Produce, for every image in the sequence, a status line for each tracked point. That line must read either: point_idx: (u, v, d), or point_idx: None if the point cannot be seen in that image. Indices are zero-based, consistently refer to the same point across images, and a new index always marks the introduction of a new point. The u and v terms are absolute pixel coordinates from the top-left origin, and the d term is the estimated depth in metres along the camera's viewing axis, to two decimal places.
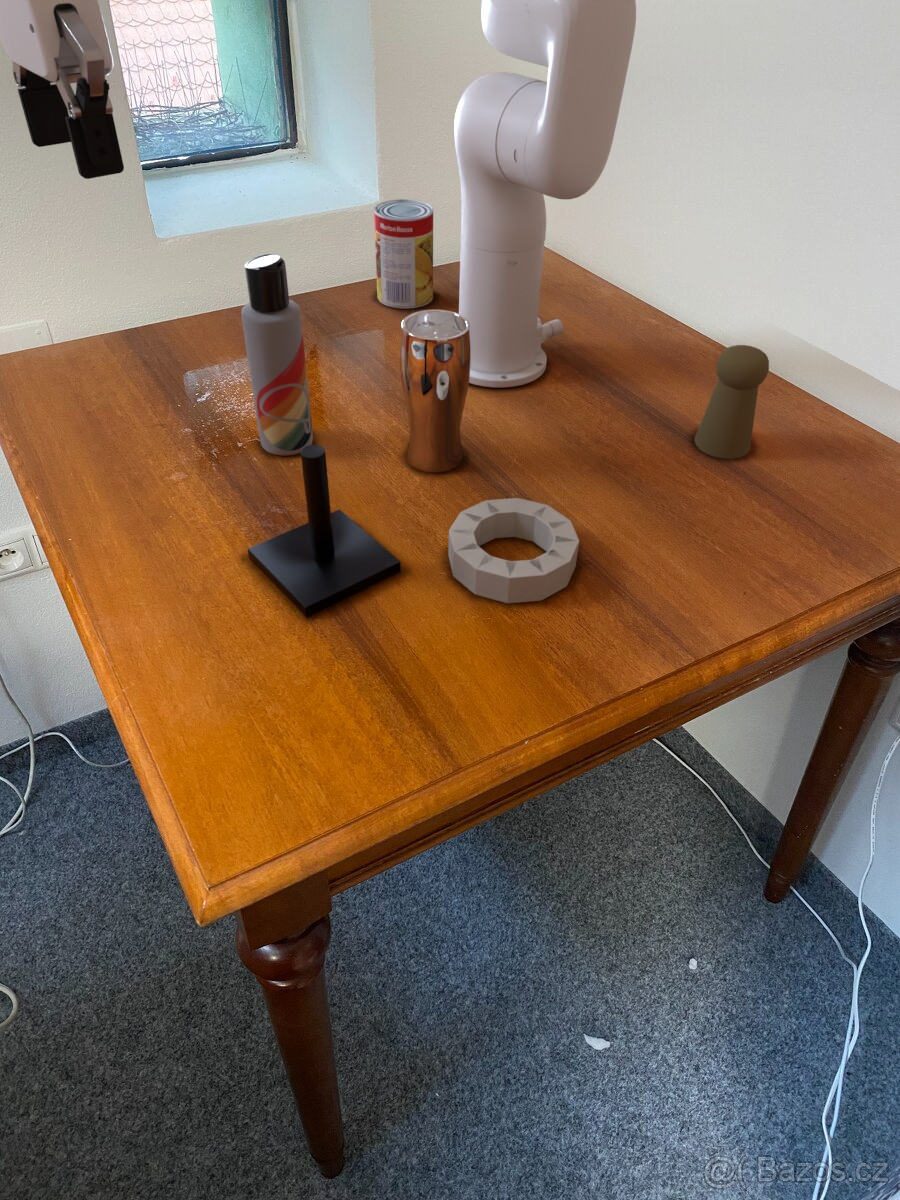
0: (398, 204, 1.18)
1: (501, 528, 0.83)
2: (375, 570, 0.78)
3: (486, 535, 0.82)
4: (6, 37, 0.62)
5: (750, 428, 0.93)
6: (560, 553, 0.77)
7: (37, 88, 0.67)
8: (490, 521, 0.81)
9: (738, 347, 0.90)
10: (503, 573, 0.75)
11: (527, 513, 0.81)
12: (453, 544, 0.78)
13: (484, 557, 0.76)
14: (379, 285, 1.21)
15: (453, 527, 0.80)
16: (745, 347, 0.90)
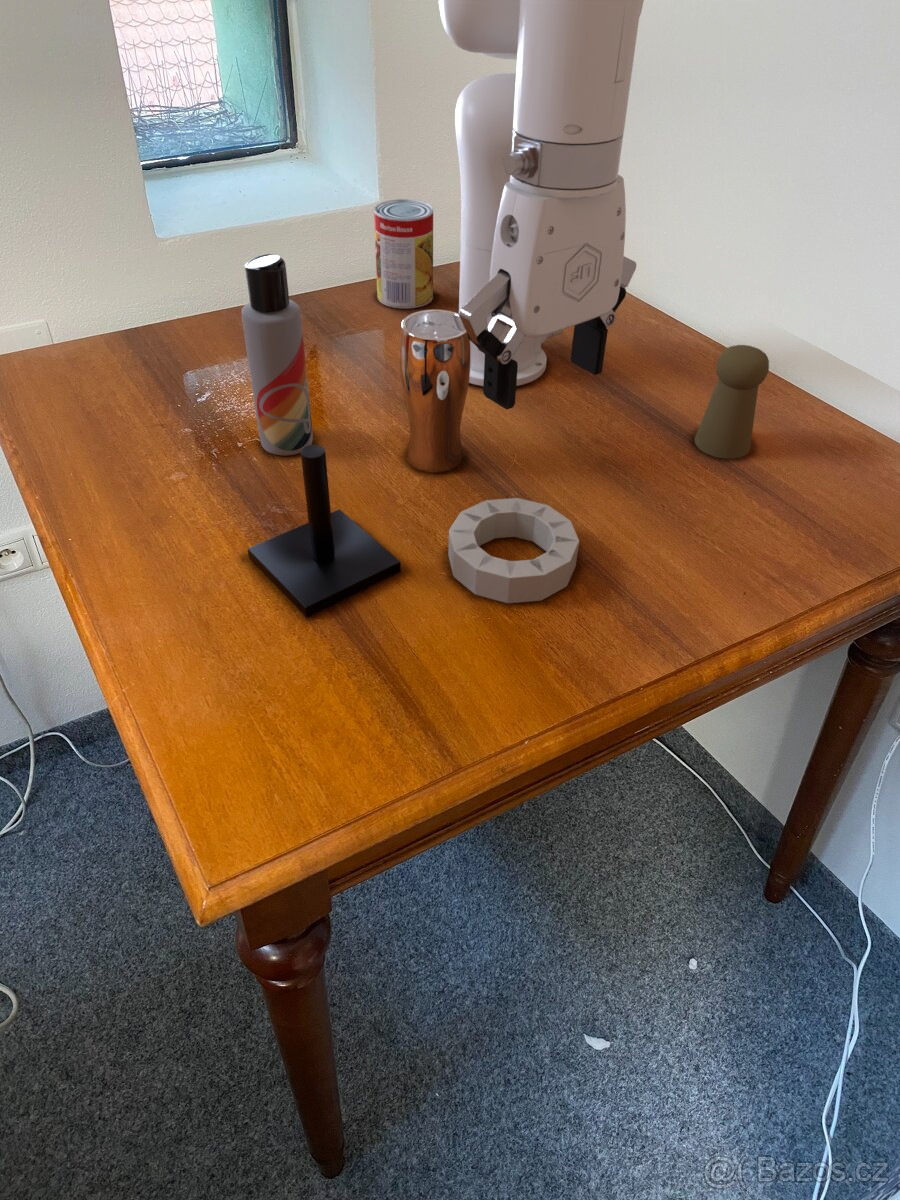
0: (398, 204, 1.18)
1: (501, 528, 0.83)
2: (375, 570, 0.78)
3: (486, 535, 0.82)
4: None
5: (750, 428, 0.93)
6: (560, 553, 0.77)
7: (587, 322, 0.72)
8: (490, 521, 0.81)
9: (738, 347, 0.90)
10: (503, 573, 0.75)
11: (527, 513, 0.81)
12: (453, 544, 0.78)
13: (484, 557, 0.76)
14: (379, 285, 1.21)
15: (453, 527, 0.80)
16: (745, 347, 0.90)
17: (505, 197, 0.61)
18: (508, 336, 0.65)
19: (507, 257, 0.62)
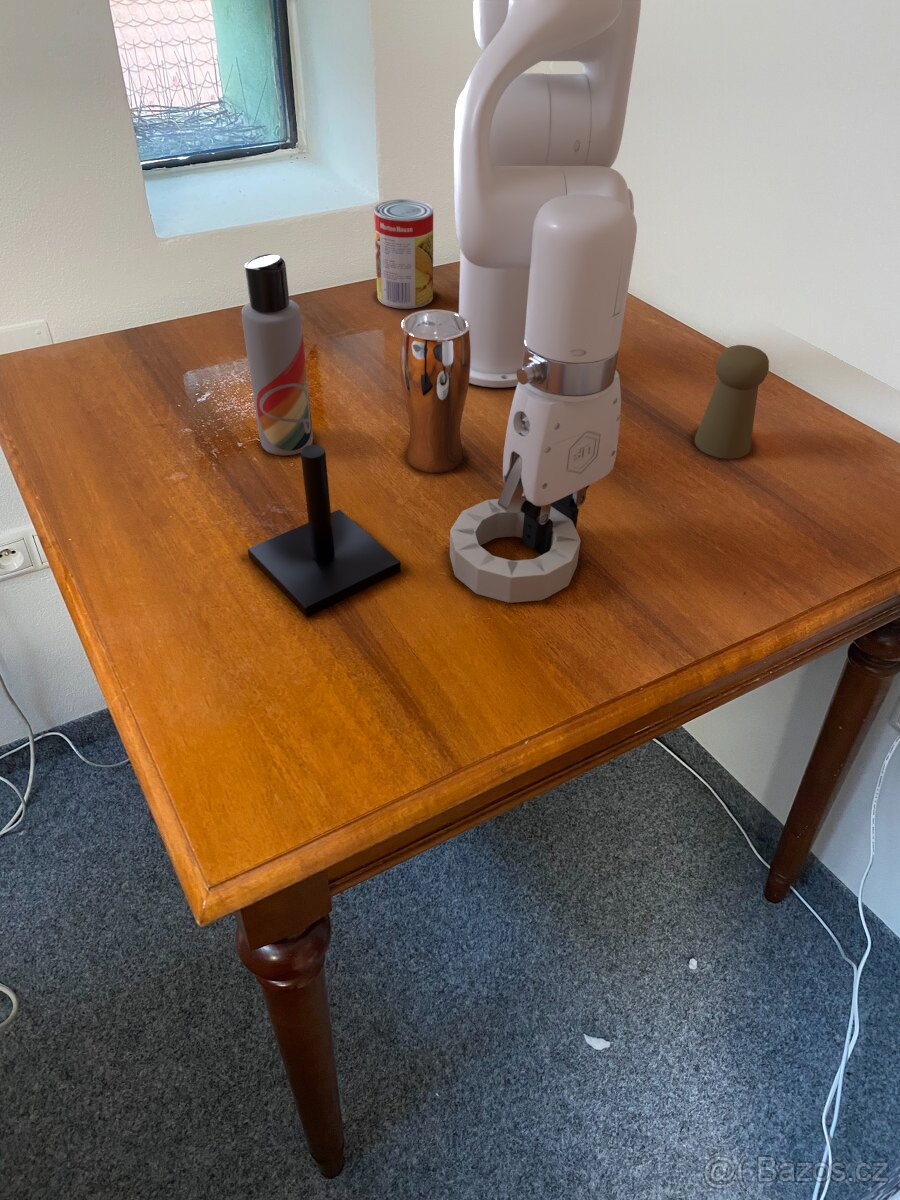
0: (398, 204, 1.18)
1: (503, 528, 0.83)
2: (375, 570, 0.78)
3: (488, 535, 0.82)
4: None
5: (750, 428, 0.93)
6: (561, 552, 0.77)
7: (560, 501, 0.81)
8: (491, 521, 0.81)
9: (738, 347, 0.90)
10: (505, 572, 0.75)
11: None
12: (454, 544, 0.78)
13: (486, 557, 0.77)
14: (379, 285, 1.21)
15: (454, 527, 0.80)
16: (745, 347, 0.90)
17: (518, 396, 0.71)
18: (538, 507, 0.77)
19: (519, 444, 0.72)
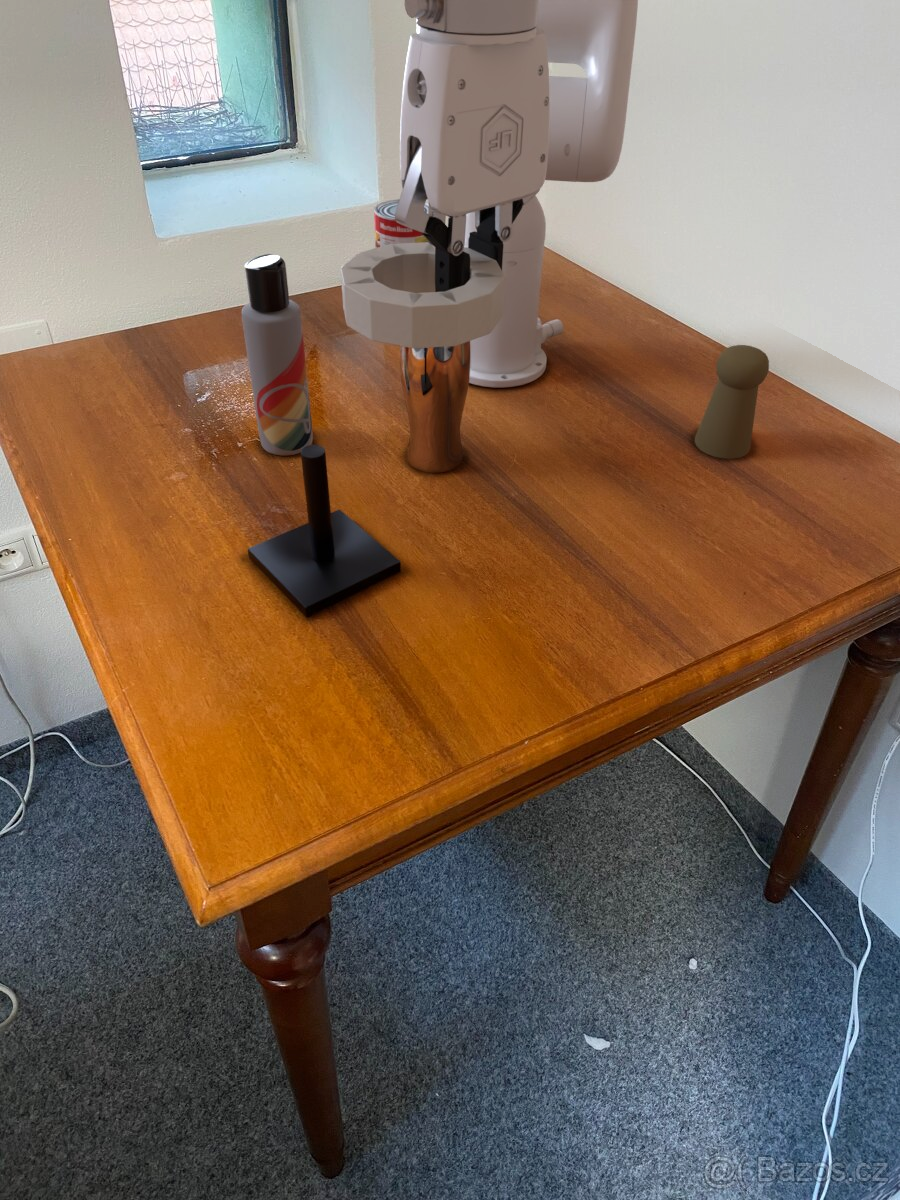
0: None
1: (411, 278, 0.66)
2: (375, 570, 0.78)
3: (392, 285, 0.66)
4: None
5: (750, 428, 0.93)
6: (480, 286, 0.61)
7: (481, 238, 0.65)
8: (395, 265, 0.65)
9: (738, 347, 0.90)
10: (405, 302, 0.58)
11: None
12: (344, 279, 0.61)
13: (382, 289, 0.60)
14: None
15: (346, 265, 0.63)
16: (745, 347, 0.90)
17: (411, 49, 0.54)
18: (449, 228, 0.61)
19: (416, 120, 0.55)
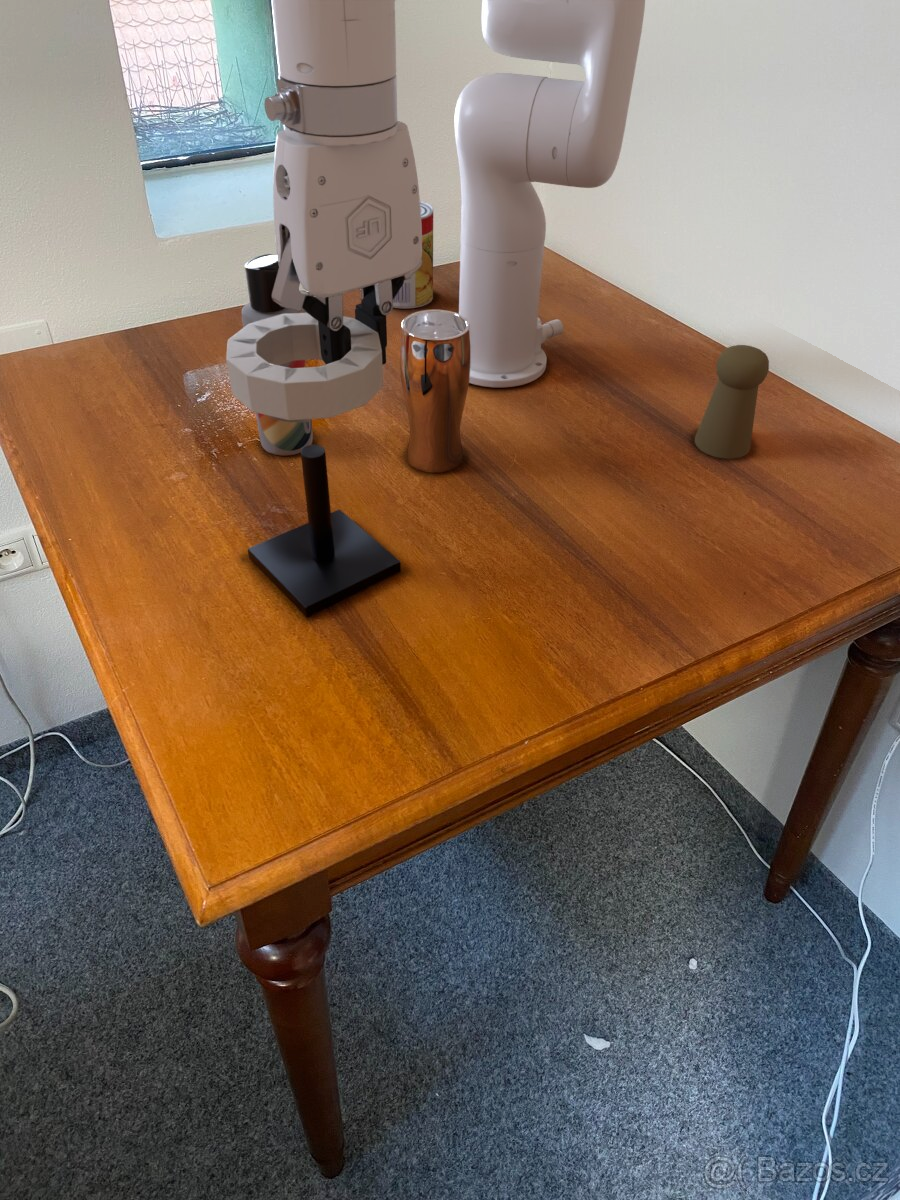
0: None
1: (301, 347, 0.69)
2: (375, 570, 0.78)
3: (282, 354, 0.69)
4: None
5: (750, 428, 0.93)
6: (354, 361, 0.64)
7: (365, 310, 0.68)
8: (284, 335, 0.68)
9: (738, 347, 0.90)
10: (278, 378, 0.62)
11: None
12: (227, 352, 0.65)
13: (260, 364, 0.63)
14: None
15: (233, 337, 0.66)
16: (745, 347, 0.90)
17: (276, 146, 0.57)
18: (326, 306, 0.64)
19: (284, 211, 0.59)
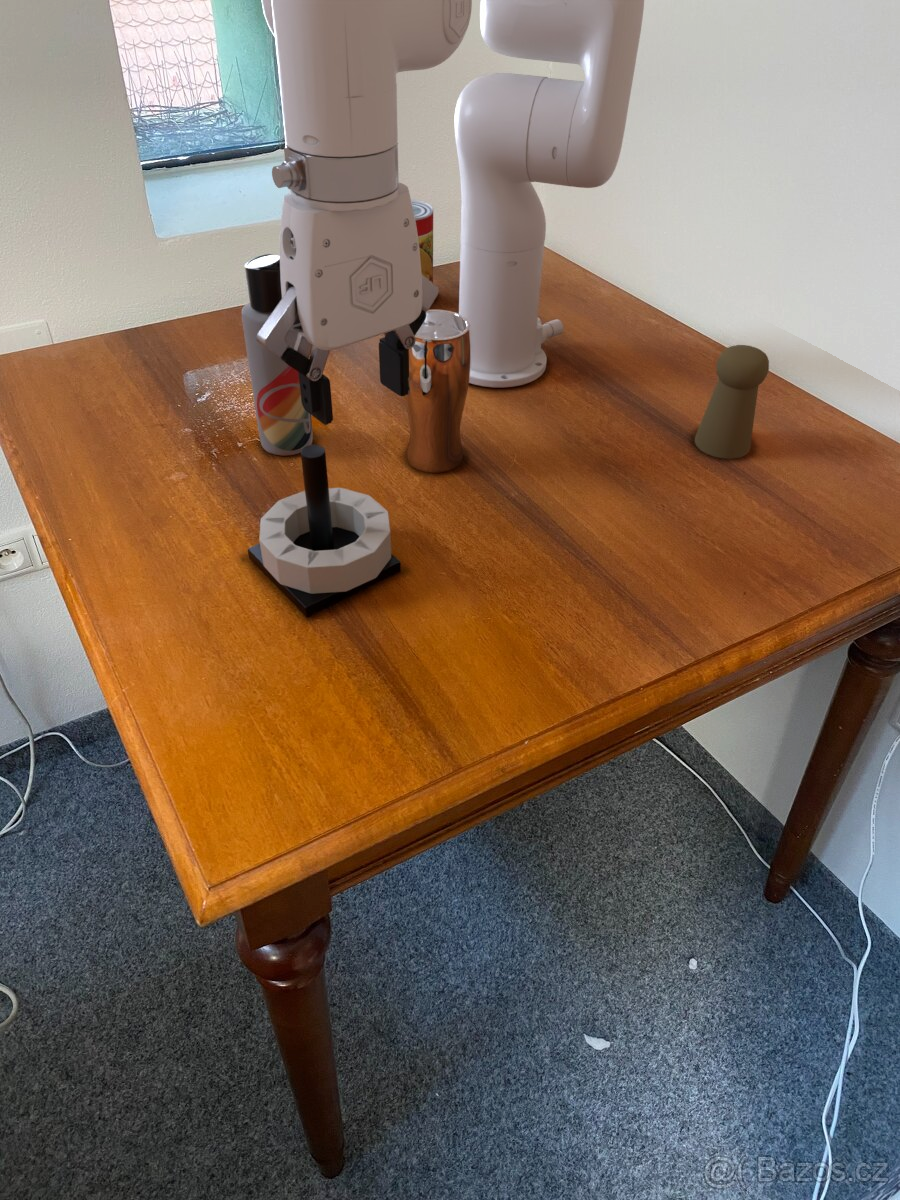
0: None
1: None
2: None
3: (306, 525, 0.81)
4: None
5: (750, 428, 0.93)
6: (367, 544, 0.76)
7: (389, 344, 0.71)
8: None
9: (738, 347, 0.90)
10: (302, 562, 0.74)
11: (345, 503, 0.80)
12: (260, 532, 0.77)
13: (288, 546, 0.75)
14: None
15: (265, 516, 0.78)
16: (745, 347, 0.90)
17: (283, 209, 0.60)
18: (312, 354, 0.65)
19: (290, 270, 0.61)
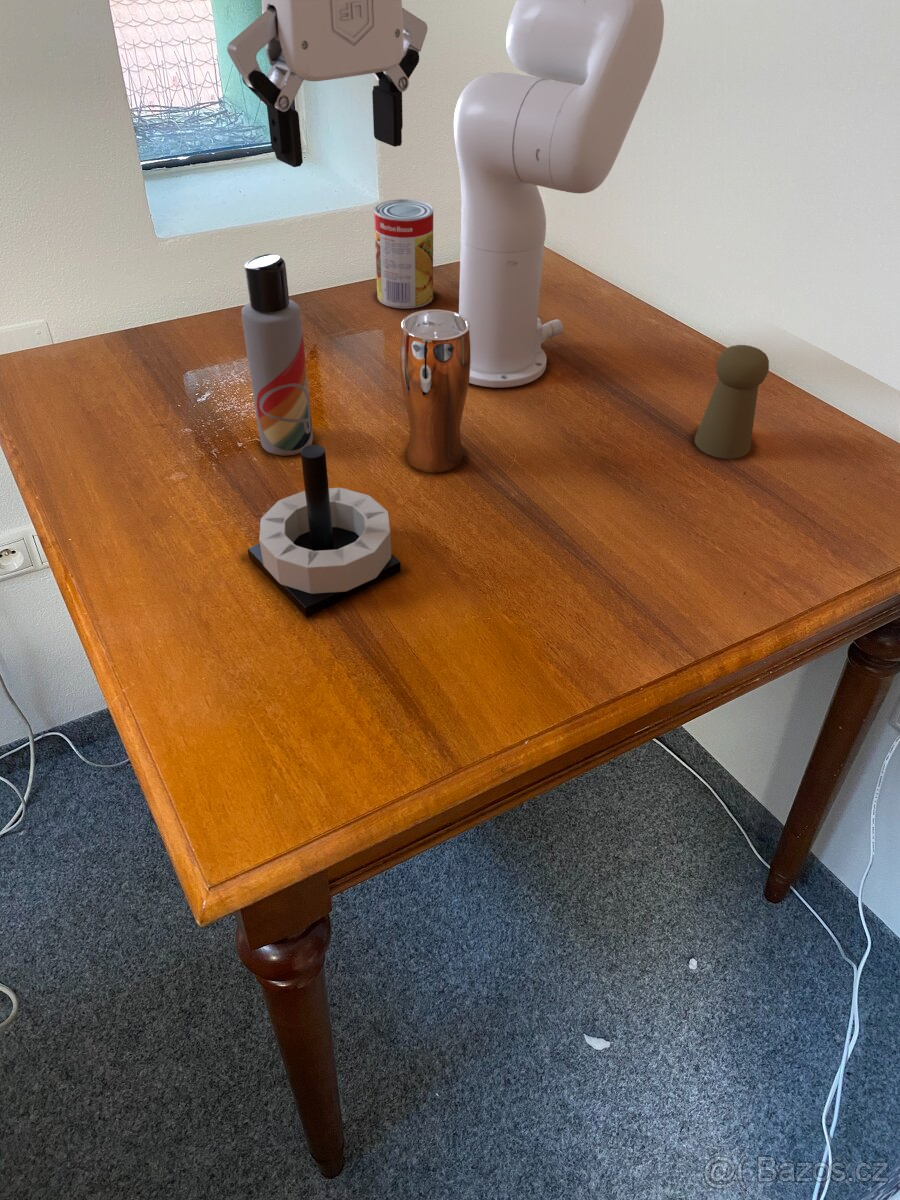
0: (398, 204, 1.18)
1: None
2: None
3: (306, 525, 0.81)
4: None
5: (750, 428, 0.93)
6: (367, 544, 0.76)
7: (382, 89, 0.72)
8: None
9: (738, 347, 0.90)
10: (302, 562, 0.74)
11: (345, 503, 0.80)
12: (260, 532, 0.77)
13: (288, 546, 0.75)
14: (379, 285, 1.21)
15: (265, 516, 0.78)
16: (745, 347, 0.90)
17: None
18: (283, 80, 0.65)
19: None
